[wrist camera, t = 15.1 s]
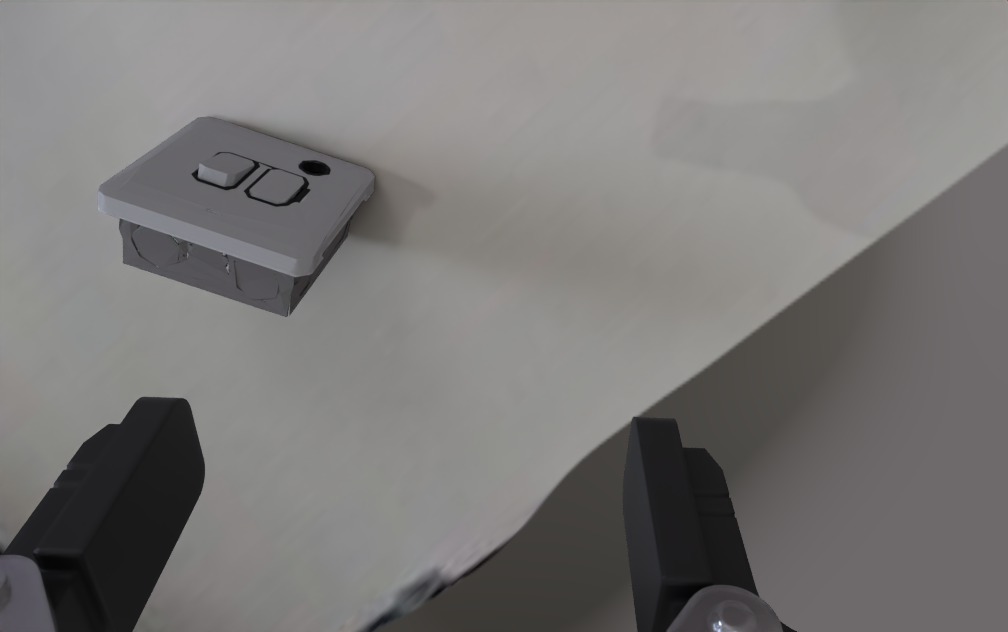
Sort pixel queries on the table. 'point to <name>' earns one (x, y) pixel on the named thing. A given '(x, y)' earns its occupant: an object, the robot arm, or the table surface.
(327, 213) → the electrical switch
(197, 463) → the robot arm
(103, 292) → the table surface
